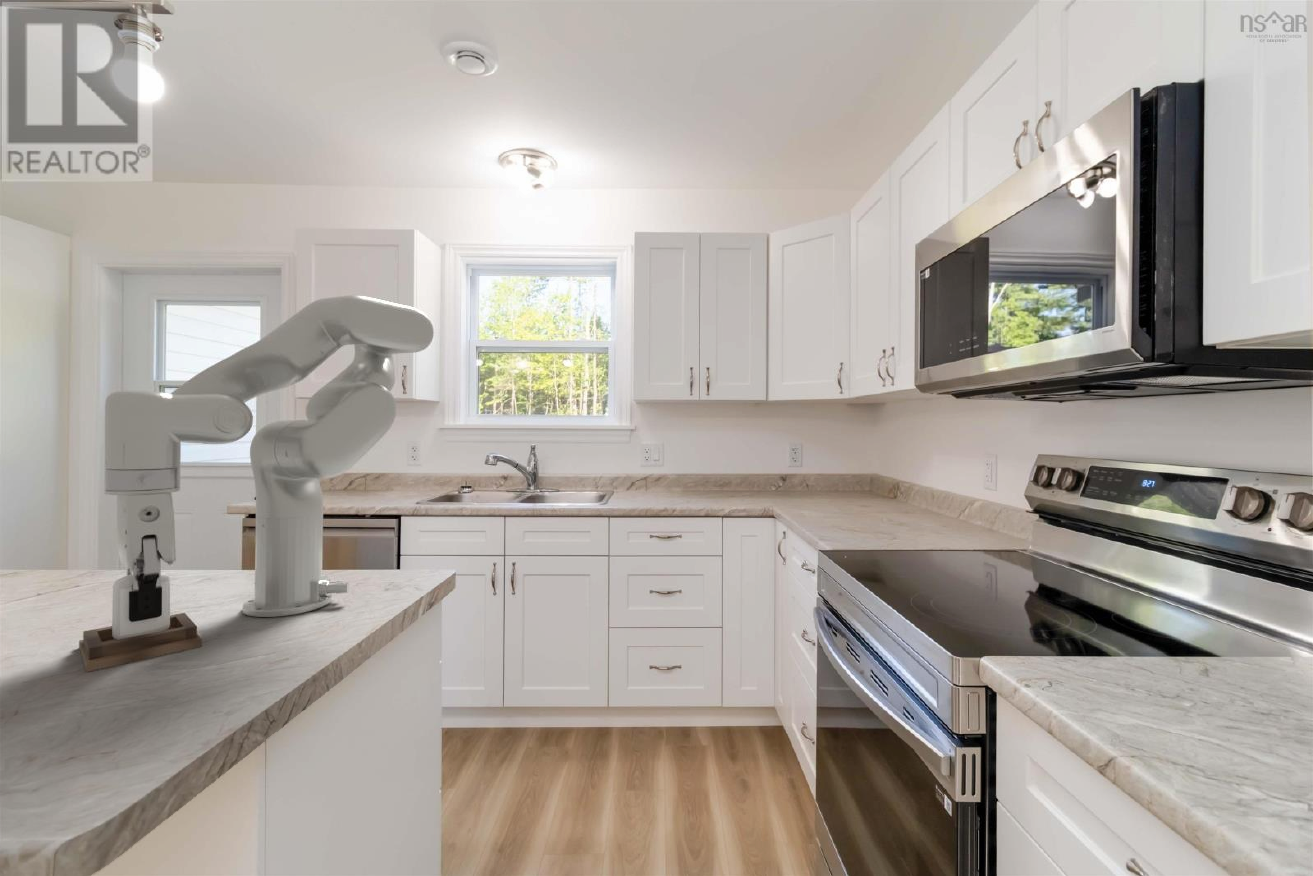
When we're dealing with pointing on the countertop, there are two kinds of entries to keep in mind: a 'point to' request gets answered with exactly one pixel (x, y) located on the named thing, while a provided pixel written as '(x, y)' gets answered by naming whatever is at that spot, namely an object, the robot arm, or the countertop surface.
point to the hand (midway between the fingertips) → (143, 613)
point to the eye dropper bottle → (121, 610)
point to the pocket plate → (137, 644)
